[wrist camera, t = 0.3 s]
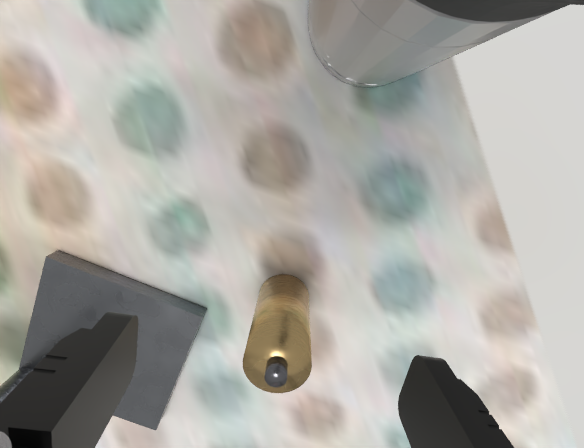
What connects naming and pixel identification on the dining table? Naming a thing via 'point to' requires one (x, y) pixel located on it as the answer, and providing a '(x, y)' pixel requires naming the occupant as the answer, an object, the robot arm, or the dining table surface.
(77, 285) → the stand
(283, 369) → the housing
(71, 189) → the dining table surface
